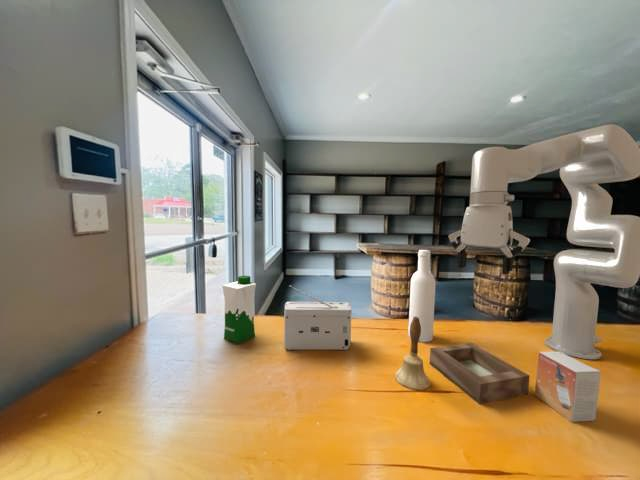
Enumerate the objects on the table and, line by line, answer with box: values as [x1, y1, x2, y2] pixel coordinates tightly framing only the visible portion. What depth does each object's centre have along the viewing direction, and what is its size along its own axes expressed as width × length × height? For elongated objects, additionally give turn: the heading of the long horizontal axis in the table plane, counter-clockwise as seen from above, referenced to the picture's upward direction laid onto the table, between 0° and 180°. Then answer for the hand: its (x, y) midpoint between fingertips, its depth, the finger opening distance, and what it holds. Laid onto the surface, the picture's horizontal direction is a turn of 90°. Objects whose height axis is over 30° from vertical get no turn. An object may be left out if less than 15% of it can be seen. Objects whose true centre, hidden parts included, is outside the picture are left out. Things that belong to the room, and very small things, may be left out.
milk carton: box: [222, 275, 257, 345], centre depth 83 cm, size 9×9×20 cm
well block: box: [429, 342, 530, 405], centre depth 64 cm, size 14×16×4 cm
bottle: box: [407, 249, 436, 343], centre depth 86 cm, size 8×8×30 cm
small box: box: [534, 351, 602, 423], centre depth 54 cm, size 8×6×10 cm
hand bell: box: [394, 317, 431, 391], centre depth 63 cm, size 8×8×16 cm
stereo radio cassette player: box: [283, 285, 352, 351], centre depth 79 cm, size 21×8×20 cm, turn 92°
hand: (482, 270), depth 63 cm, fingers open, 9 cm apart
